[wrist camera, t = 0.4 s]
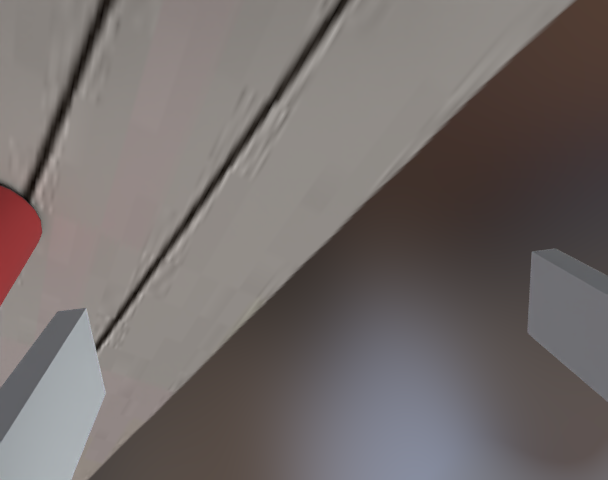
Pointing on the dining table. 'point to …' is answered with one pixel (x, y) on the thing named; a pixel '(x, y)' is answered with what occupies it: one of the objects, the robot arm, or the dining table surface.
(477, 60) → the dining table surface
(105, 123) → the dining table surface
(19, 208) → the beer can
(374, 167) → the dining table surface
